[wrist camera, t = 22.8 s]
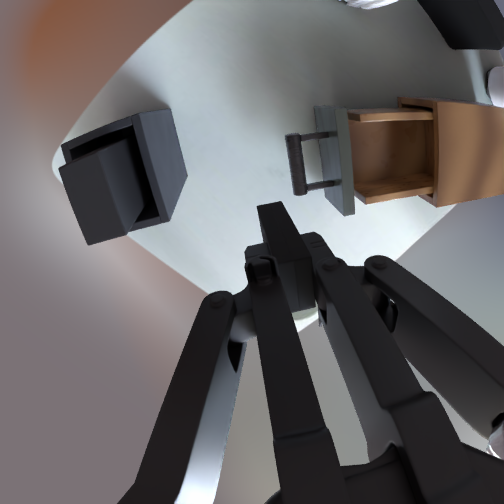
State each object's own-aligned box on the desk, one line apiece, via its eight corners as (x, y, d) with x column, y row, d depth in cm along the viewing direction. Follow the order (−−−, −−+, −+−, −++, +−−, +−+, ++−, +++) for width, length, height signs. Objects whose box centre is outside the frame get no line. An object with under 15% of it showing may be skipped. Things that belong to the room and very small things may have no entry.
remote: (143, 176, 29) (84, 247, 15) (131, 133, 27) (54, 169, 13) (170, 169, 29) (127, 235, 15) (158, 124, 27) (98, 151, 13)
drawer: (289, 203, 32) (302, 225, 27) (274, 111, 27) (287, 113, 22) (424, 180, 32) (452, 196, 27) (422, 102, 27) (453, 107, 22)
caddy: (135, 190, 30) (94, 241, 19) (116, 126, 26) (60, 145, 15) (187, 176, 30) (170, 221, 19) (170, 108, 26) (139, 113, 15)
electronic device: (450, 50, 24) (504, 50, 15) (408, -11, 19) (457, -27, 11) (463, 39, 22) (514, 39, 14) (423, -19, 18) (471, -34, 10)
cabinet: (401, 185, 33) (436, 207, 27) (396, 96, 27) (436, 101, 21) (476, 175, 33) (509, 192, 27) (476, 102, 27) (514, 110, 21)
